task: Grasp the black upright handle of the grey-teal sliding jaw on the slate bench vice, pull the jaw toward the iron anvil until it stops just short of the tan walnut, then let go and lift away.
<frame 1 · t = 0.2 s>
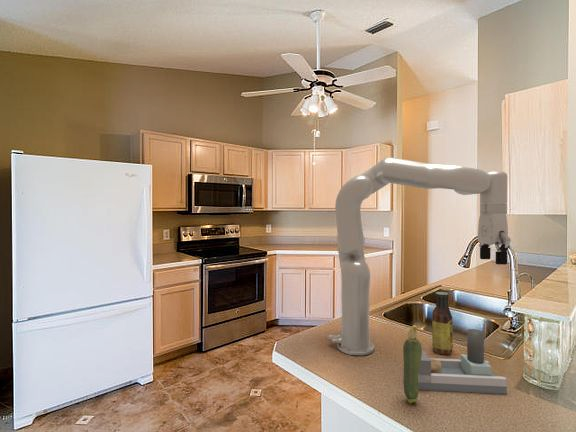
hand: (492, 261, 104), 31 cm above the worktop, tool pointing down, fingers open, 9 cm apart
sauce bottle: (442, 351, 107), on the worktop
vice bench: (452, 381, 89), on the worktop
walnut: (433, 373, 89), point 2 cm above the worktop, touching vice bench
vegetable: (412, 402, 80), on the worktop
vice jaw: (475, 353, 88), point 8 cm above the worktop, slide at 0.0 cm
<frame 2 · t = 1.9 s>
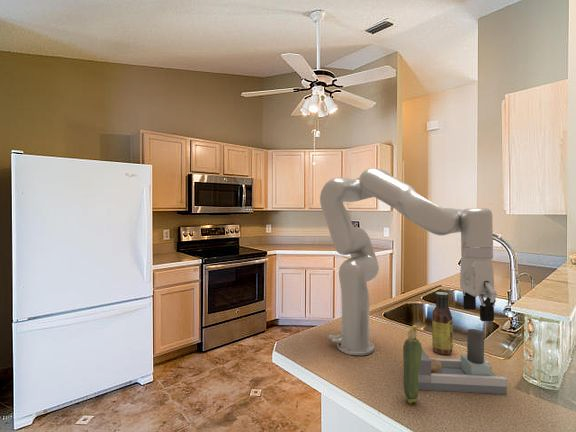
hand: (477, 314, 87), 19 cm above the worktop, tool pointing down, fingers open, 9 cm apart
nothing on the worktop moved.
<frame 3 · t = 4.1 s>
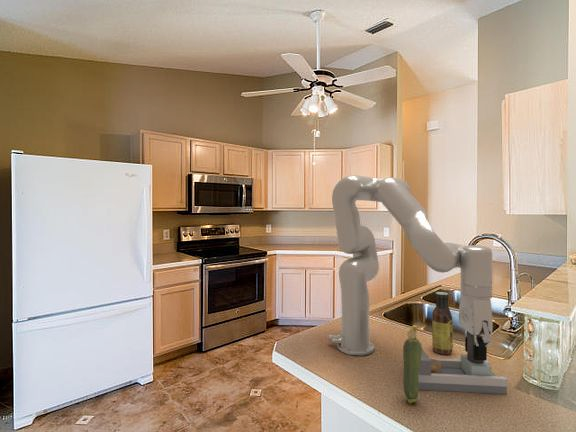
hand: (475, 354, 88), 8 cm above the worktop, tool pointing down, fingers closed on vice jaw, 4 cm apart
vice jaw: (475, 353, 88), point 8 cm above the worktop, slide at 0.0 cm, touching gripper
everything else where it was.
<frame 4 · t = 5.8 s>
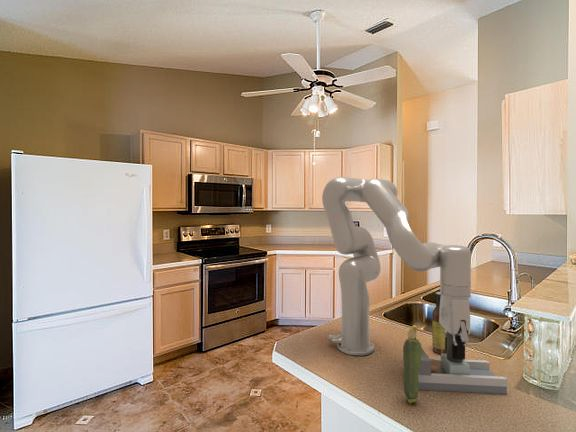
hand: (454, 354, 88), 8 cm above the worktop, tool pointing down, fingers closed on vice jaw, 4 cm apart
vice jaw: (454, 352, 88), point 8 cm above the worktop, slide at 5.5 cm, touching gripper
everything else where it was.
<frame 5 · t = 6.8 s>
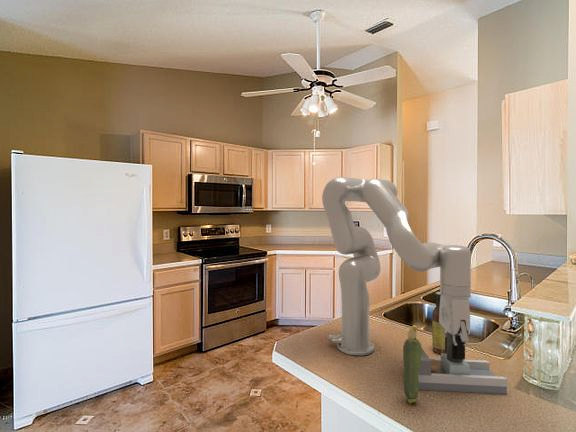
hand: (454, 354, 88), 8 cm above the worktop, tool pointing down, fingers closed on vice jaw, 4 cm apart
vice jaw: (454, 352, 88), point 8 cm above the worktop, slide at 5.5 cm, touching gripper
everything else where it was.
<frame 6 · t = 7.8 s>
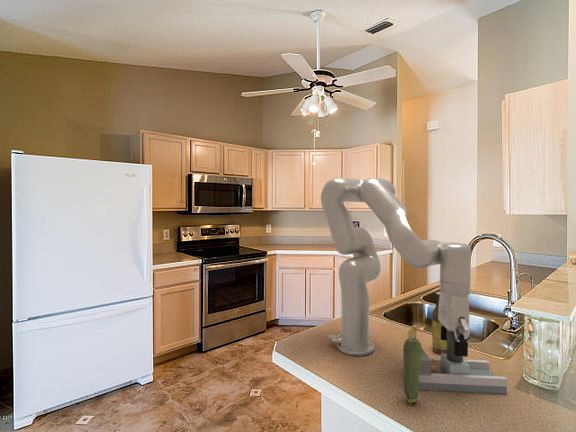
hand: (453, 347, 89), 10 cm above the worktop, tool pointing down, fingers open, 9 cm apart
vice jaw: (454, 352, 88), point 8 cm above the worktop, slide at 5.5 cm
everything else where it was.
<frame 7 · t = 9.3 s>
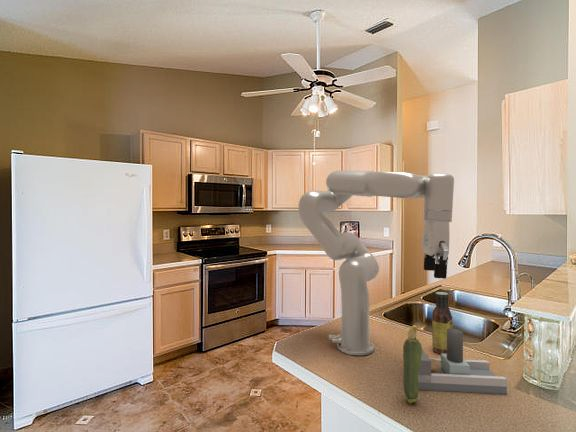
hand: (434, 273, 94), 29 cm above the worktop, tool pointing down, fingers open, 9 cm apart
nothing on the worktop moved.
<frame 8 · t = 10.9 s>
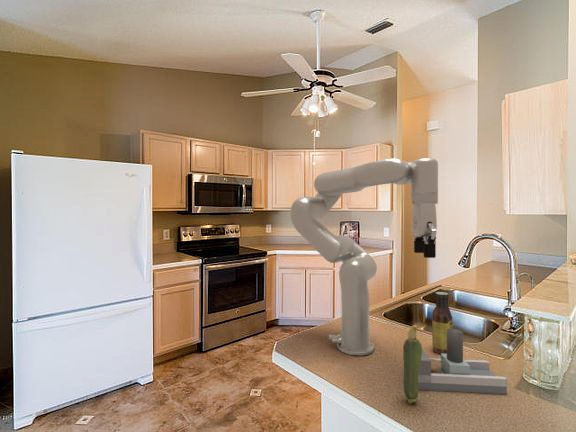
hand: (424, 255, 97), 34 cm above the worktop, tool pointing down, fingers open, 9 cm apart
nothing on the worktop moved.
at the end: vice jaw slide at 5.5 cm; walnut moved 0.0 cm from its start; the gripper is holding nothing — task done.
